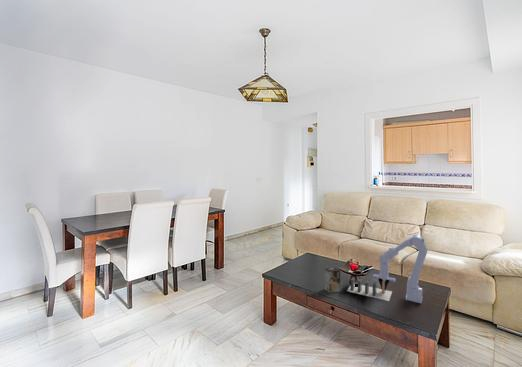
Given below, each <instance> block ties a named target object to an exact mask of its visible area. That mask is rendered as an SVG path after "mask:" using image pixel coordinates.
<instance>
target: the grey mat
mask: <svg viewBox="0 0 522 367" xmlns="http://www.w3.org/2000/svg"><path fill="white" fill-rule="evenodd" d="M346 292H349V293H353V294H358V295H360V296H361V295H362V296H366V297H371V298H375V299H378V300H381V301H382V300H383V301H386V302H390V300H391V297H392V293H393V291H392V290H387V289H386V291H385V294H383V293H382V289H381V288H377V287H376V295H375V296H373V286H369V292H368V294H365V284H362V290H361V292H358V287H355V288H354V290H353V291H351V285H350V286H348V288H347V289H346Z"/></svg>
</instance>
